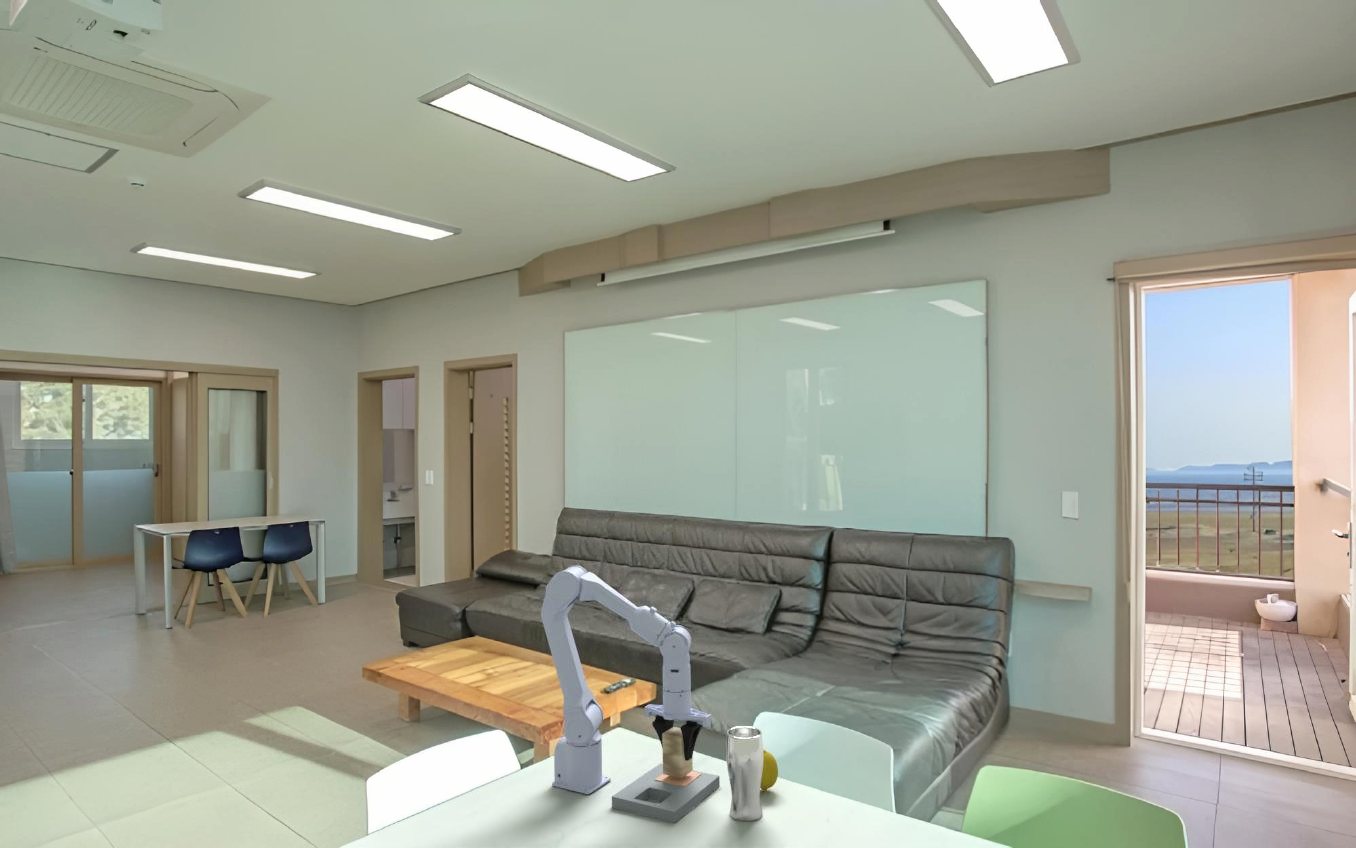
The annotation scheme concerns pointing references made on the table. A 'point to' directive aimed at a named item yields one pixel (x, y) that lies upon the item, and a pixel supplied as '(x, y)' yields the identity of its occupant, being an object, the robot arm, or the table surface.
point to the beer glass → (745, 771)
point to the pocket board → (665, 794)
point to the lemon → (768, 771)
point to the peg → (675, 754)
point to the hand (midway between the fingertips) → (678, 756)
